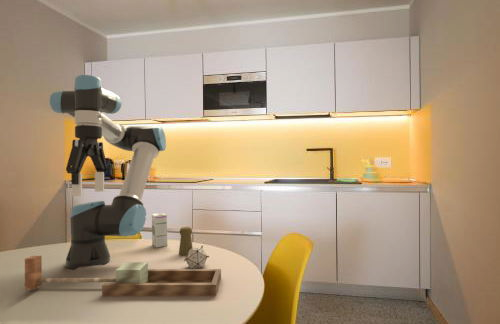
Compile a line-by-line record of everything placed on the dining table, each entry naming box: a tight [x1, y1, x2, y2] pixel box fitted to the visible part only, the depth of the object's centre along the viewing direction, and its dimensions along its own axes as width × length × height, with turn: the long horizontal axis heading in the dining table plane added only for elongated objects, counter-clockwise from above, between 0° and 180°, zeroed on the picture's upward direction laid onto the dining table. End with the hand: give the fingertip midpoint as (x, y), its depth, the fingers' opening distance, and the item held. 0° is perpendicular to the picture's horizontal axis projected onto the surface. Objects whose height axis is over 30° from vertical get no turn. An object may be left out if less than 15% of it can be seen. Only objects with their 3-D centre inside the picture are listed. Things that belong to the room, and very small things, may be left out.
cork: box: [178, 226, 194, 257], centre depth 133 cm, size 6×6×11 cm
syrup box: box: [151, 212, 168, 248], centre depth 146 cm, size 6×6×14 cm
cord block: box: [24, 255, 149, 290], centre depth 95 cm, size 35×7×9 cm, turn 89°
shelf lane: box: [101, 268, 222, 297], centre depth 95 cm, size 32×13×4 cm, turn 89°
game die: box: [183, 245, 210, 269], centre depth 113 cm, size 9×8×10 cm
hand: (89, 193), depth 99 cm, fingers open, 13 cm apart
